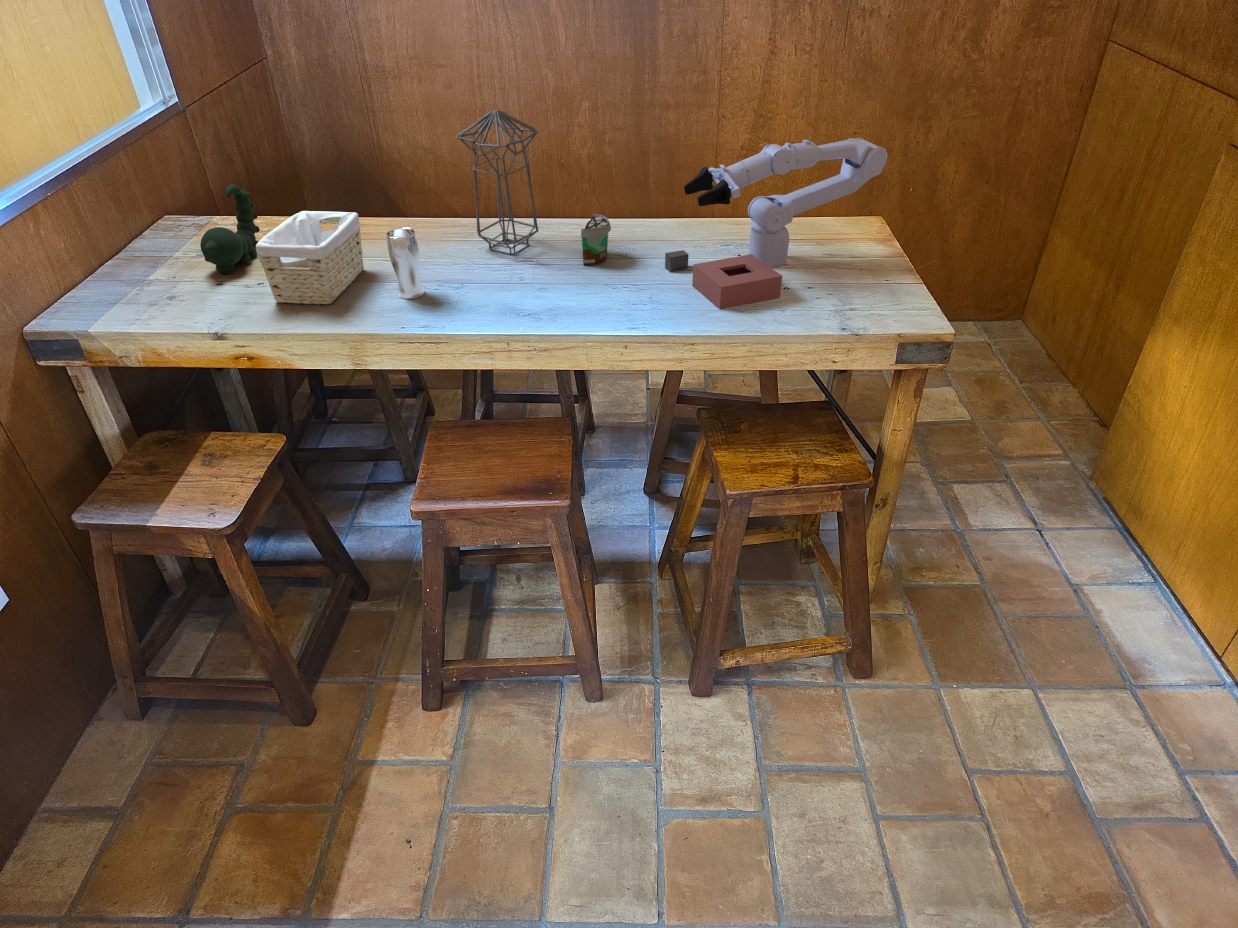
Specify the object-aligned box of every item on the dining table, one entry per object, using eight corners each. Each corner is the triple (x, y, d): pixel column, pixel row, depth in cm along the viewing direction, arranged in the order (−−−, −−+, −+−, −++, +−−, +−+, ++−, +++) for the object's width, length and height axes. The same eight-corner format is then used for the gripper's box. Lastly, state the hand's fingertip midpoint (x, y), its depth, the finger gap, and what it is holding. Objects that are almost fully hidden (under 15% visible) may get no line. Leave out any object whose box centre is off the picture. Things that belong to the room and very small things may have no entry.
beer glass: (400, 302, 184) (389, 240, 175) (393, 291, 189) (381, 230, 180) (429, 296, 187) (419, 235, 177) (421, 285, 191) (411, 225, 182)
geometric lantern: (549, 244, 212) (540, 107, 190) (513, 265, 202) (499, 123, 180) (504, 232, 219) (490, 98, 197) (466, 252, 209) (448, 113, 187)
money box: (749, 275, 195) (751, 254, 192) (779, 297, 185) (782, 275, 182) (692, 285, 191) (693, 264, 187) (719, 309, 180) (721, 287, 177)
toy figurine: (241, 252, 213) (195, 282, 192) (222, 179, 203) (171, 203, 182) (275, 252, 213) (232, 283, 192) (258, 180, 203) (211, 203, 182)
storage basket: (311, 265, 202) (297, 208, 193) (372, 267, 200) (360, 210, 192) (268, 306, 183) (250, 245, 174) (335, 309, 182) (320, 247, 173)
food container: (605, 270, 199) (605, 231, 193) (582, 268, 200) (580, 229, 194) (615, 251, 208) (615, 214, 202) (593, 249, 209) (592, 212, 203)
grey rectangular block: (682, 265, 201) (683, 250, 199) (687, 269, 199) (688, 254, 196) (664, 268, 200) (665, 253, 197) (669, 272, 197) (670, 257, 195)
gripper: (726, 148, 188) (675, 170, 187) (754, 168, 178) (701, 191, 177) (730, 175, 193) (681, 197, 192) (758, 196, 183) (706, 219, 182)
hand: (691, 196), depth 185 cm, fingers open, 7 cm apart
